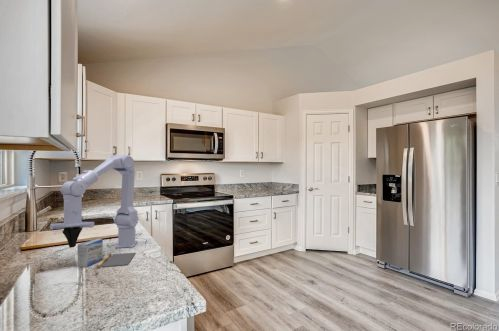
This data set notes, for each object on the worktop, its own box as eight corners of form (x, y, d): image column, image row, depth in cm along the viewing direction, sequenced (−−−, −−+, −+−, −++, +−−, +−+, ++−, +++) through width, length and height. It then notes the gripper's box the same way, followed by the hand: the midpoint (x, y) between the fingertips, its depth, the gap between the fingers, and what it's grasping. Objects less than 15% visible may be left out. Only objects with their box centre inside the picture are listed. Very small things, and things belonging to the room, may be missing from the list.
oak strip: (108, 256, 106) (108, 253, 106) (111, 256, 107) (111, 253, 107) (96, 268, 93) (96, 265, 93) (99, 268, 93) (99, 265, 93)
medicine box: (86, 267, 94) (87, 244, 94) (76, 266, 95) (77, 243, 95) (103, 260, 102) (103, 238, 102) (93, 259, 103) (93, 238, 103)
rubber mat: (113, 255, 108) (113, 254, 108) (135, 253, 110) (135, 252, 110) (102, 267, 94) (102, 266, 94) (127, 265, 96) (127, 264, 96)
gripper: (45, 214, 92) (45, 251, 92) (89, 212, 95) (89, 248, 95) (55, 211, 99) (55, 245, 99) (96, 209, 102) (96, 243, 102)
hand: (72, 246), depth 97 cm, fingers closed
